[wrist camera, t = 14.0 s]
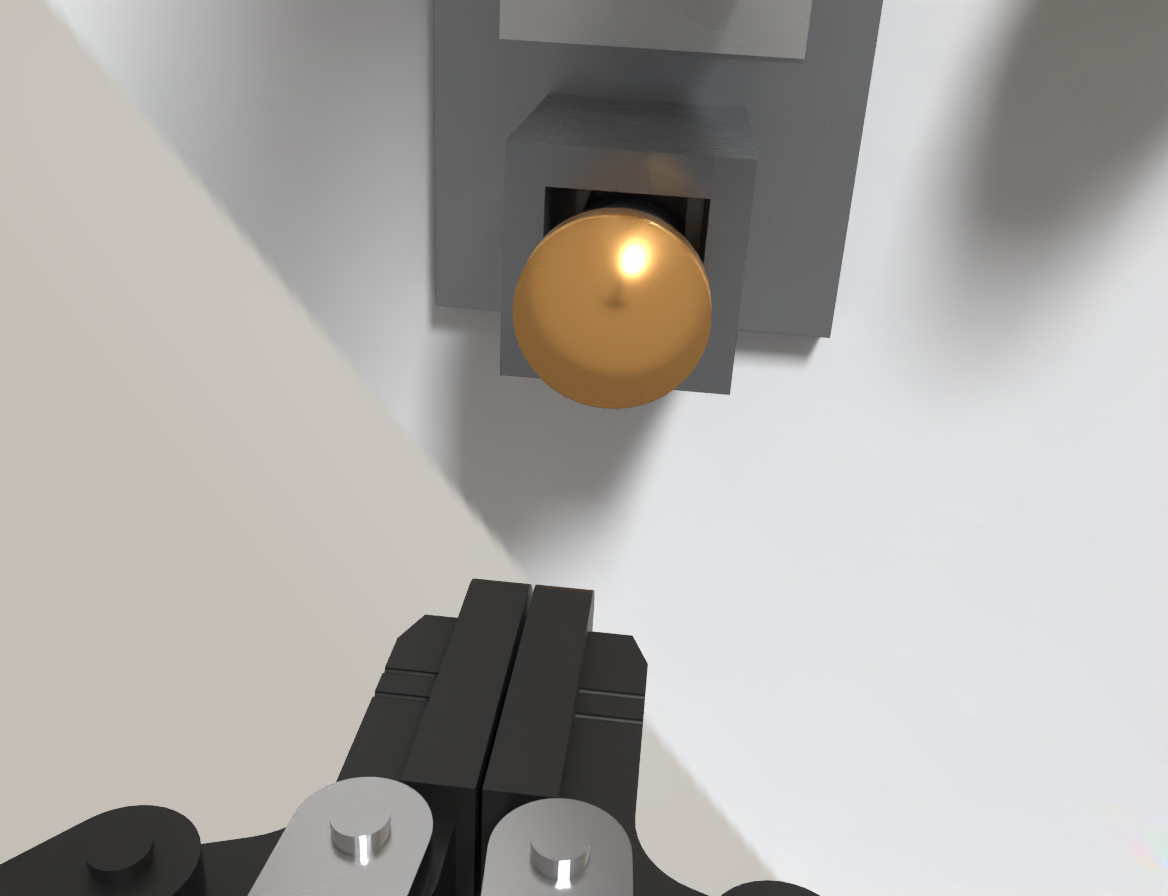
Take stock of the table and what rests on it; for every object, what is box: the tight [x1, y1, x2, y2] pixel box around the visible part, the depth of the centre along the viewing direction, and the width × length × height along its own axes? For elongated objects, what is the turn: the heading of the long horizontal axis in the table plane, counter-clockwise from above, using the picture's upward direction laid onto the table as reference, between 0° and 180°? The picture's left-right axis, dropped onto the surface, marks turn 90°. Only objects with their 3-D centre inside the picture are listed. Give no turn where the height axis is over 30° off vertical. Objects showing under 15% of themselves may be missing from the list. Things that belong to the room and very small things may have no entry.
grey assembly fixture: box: [434, 0, 883, 395], centre depth 30 cm, size 18×13×9 cm
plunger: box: [513, 190, 711, 409], centre depth 30 cm, size 4×4×11 cm
